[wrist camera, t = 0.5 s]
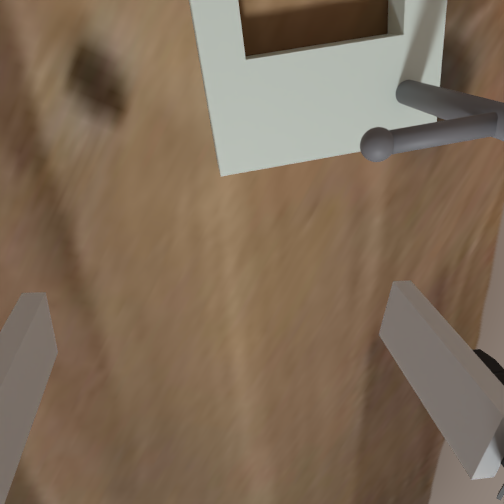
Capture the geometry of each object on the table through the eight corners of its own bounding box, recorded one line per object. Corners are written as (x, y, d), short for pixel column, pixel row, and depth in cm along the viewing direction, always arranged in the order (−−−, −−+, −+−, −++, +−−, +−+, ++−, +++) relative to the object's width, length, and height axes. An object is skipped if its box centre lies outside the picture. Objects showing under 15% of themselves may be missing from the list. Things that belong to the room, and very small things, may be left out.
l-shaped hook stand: (156, -181, 28) (134, -405, 13) (441, -214, 29) (707, -450, 15) (218, 166, 40) (241, 250, 25) (418, 130, 41) (552, 191, 26)
